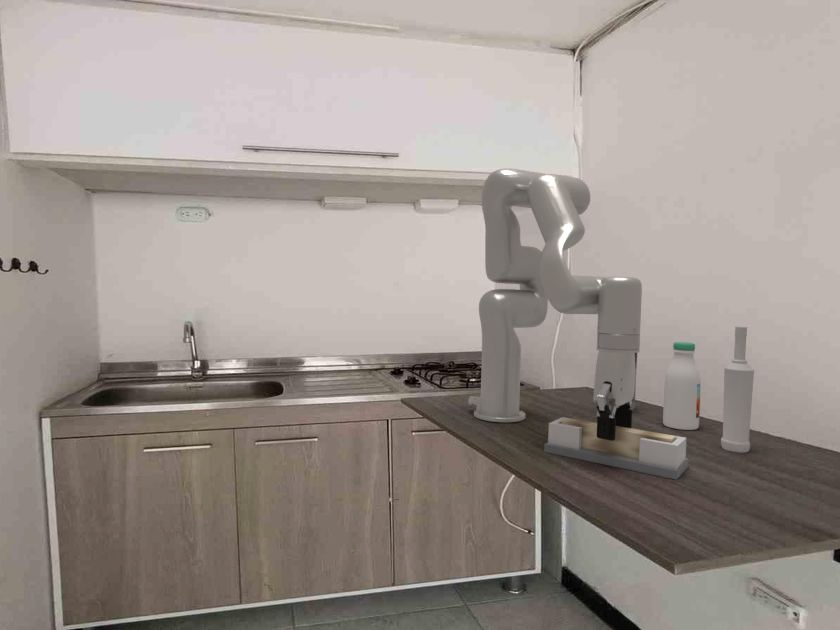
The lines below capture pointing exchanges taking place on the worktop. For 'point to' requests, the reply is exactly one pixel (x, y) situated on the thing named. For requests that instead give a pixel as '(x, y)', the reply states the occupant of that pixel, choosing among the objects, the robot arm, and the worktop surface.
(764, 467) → the worktop surface
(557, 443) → the grey holder stand
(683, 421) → the milk bottle
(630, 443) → the slat
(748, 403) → the bottle
